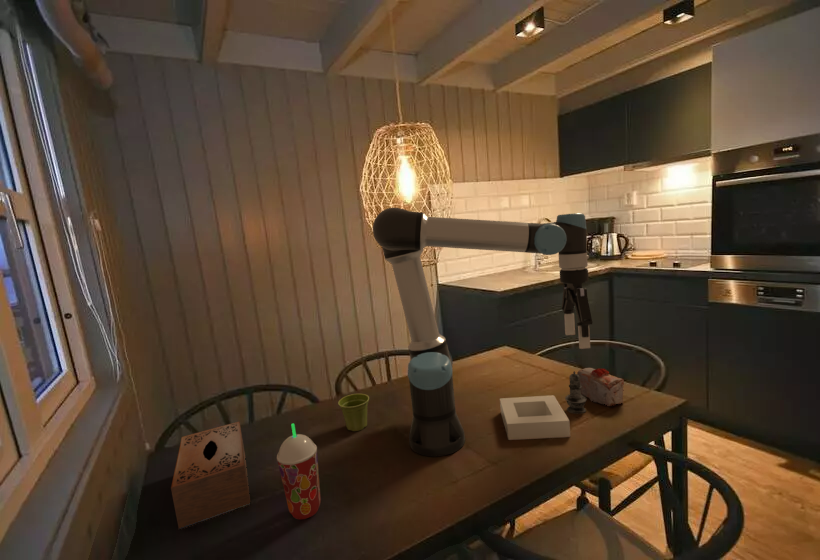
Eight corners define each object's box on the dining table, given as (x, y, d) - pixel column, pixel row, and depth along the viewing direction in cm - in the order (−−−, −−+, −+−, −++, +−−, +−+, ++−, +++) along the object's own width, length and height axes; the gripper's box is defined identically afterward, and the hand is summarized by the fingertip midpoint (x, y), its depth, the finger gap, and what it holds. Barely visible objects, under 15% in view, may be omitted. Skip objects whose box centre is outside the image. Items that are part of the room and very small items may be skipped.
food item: (629, 404, 121) (628, 372, 120) (609, 411, 118) (608, 378, 117) (592, 389, 133) (590, 360, 132) (573, 395, 130) (572, 366, 129)
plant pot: (375, 430, 121) (371, 402, 120) (343, 437, 119) (339, 409, 118) (369, 417, 130) (366, 391, 129) (340, 423, 128) (336, 397, 127)
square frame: (508, 439, 108) (507, 424, 108) (500, 412, 124) (499, 398, 123) (570, 436, 106) (569, 420, 106) (554, 409, 122) (553, 395, 122)
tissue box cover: (250, 505, 93) (244, 465, 91) (179, 531, 87) (170, 488, 86) (245, 454, 116) (239, 421, 115) (188, 471, 110) (181, 436, 109)
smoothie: (328, 496, 93) (316, 413, 90) (321, 522, 84) (308, 431, 82) (291, 500, 93) (278, 417, 90) (281, 526, 84) (266, 436, 82)
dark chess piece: (583, 404, 123) (581, 366, 122) (590, 413, 117) (587, 374, 116) (563, 406, 124) (561, 368, 122) (569, 415, 118) (566, 375, 116)
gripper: (603, 272, 102) (606, 353, 105) (574, 263, 127) (577, 329, 130) (572, 274, 103) (576, 355, 106) (549, 265, 128) (552, 330, 130)
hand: (577, 341), depth 118 cm, fingers open, 13 cm apart
